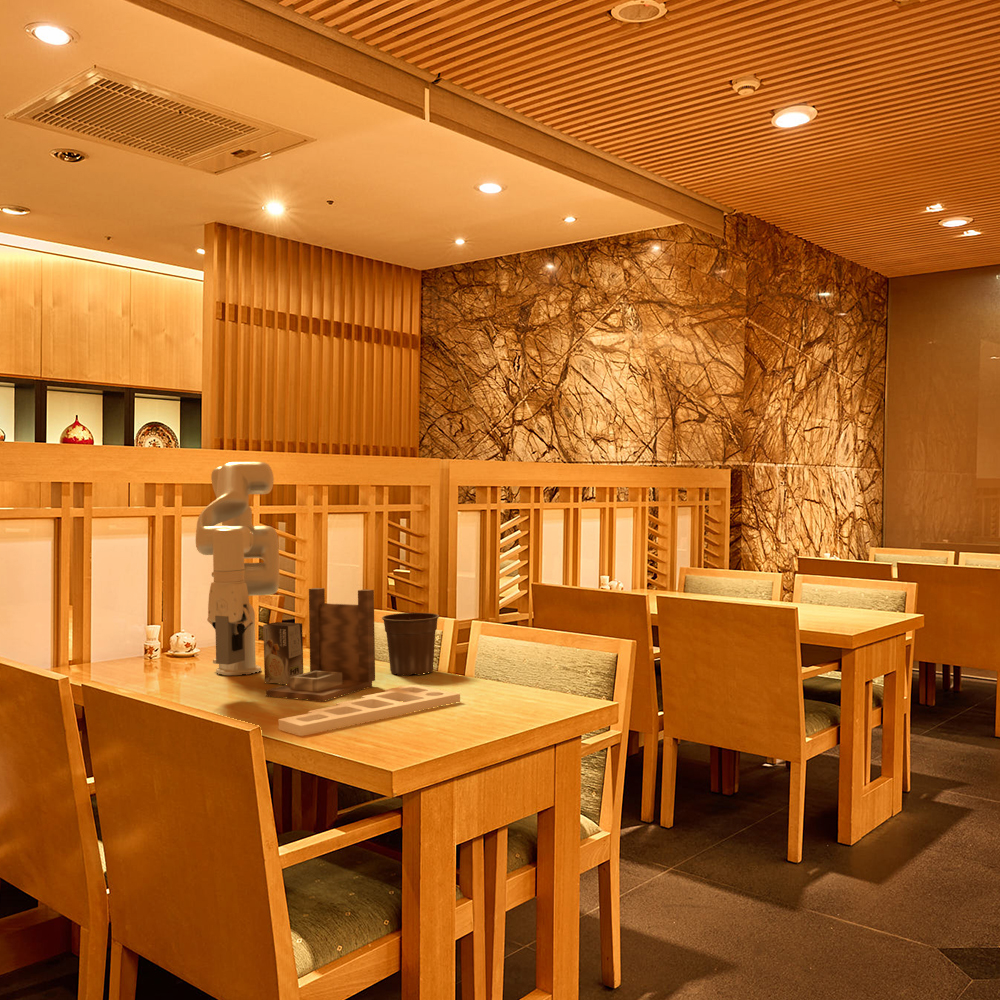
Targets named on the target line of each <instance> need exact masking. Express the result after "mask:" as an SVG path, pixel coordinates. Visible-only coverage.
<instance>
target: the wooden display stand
mask: <svg viewBox="0 0 1000 1000" xmlns="http://www.w3.org/2000/svg"><path fill="white" fill-rule="evenodd" d="M325 591H326V590H325V588H324V587H313V588H308V613H309V615H308V616H309V617H308V619H309V620H308V621H309V622H308V623H309V626H308V627H309V628H308V629H309V671H308V672H303V674H300V675H296V676H292V677H290V684H287V685H280V686H277V687H273V688H269V689H266V690H265V697H269V696H270V697H271V698H280V697H287V698H286V699H290V698H298V699H297V700H301V699H308V700H307V701H312V700H316V701H315V702H322V701H324V702H326V701H325V700H327V701H329V700H328V699H331V698H334V697H337V698H339V697H338V696H340V697H342V696H341V695H343V696H345V695H344V694H347V695H349V694H348V693H350V694H352V693H351V692H353V693H355V692H354V691H356V692H359V691H362V690H361V689H363V690H365V689H364V688H366V689H368V688H367V687H369V688H372V687H373V682H374V681H376V655H375V654H376V651H375V650H376V649H375V648H376V645H375V641H376V640H375V636H376V635H375V589H359V590H357V604H353V603H352V604H351V603H347V604H346V603H326V602H325V601H326V598H325V597H326V596H325V593H326V592H325ZM371 686H372V687H371ZM358 690H359V691H358ZM334 699H335V698H334ZM331 700H332V699H331Z"/></svg>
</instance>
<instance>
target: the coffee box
mask: <svg viewBox="0 0 1000 1000" xmlns="http://www.w3.org/2000/svg"><path fill="white" fill-rule="evenodd" d="M262 628H263V630H262V632H263V663H264V664H263V667H264V668H263V669H264V670H263V671H264V683H265V682H266V683H265V684H269V683H280V684H279V685H282V684H290V677H292V676H296V675H300V674H304V646H303V644H304V642H303V640H304V639H303V623H301V622H300V623H299V622H286V621H285V622H284V621H283V622H282V621H279V622H278V621H276V622H270V623H267V624H266V623H265V624H263V626H262Z"/></svg>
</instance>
